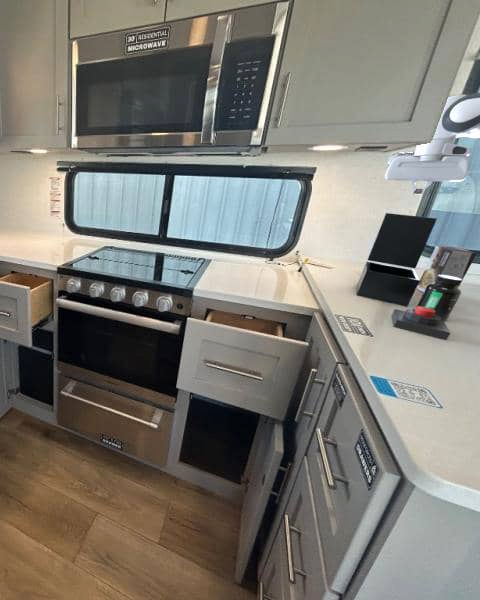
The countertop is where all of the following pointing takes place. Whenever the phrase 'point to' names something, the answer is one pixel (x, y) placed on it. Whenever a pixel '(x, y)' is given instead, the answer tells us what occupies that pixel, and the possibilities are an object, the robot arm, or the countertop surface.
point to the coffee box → (446, 264)
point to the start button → (424, 311)
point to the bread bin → (387, 283)
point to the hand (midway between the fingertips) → (416, 194)
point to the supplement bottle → (441, 295)
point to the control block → (420, 323)
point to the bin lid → (401, 239)
